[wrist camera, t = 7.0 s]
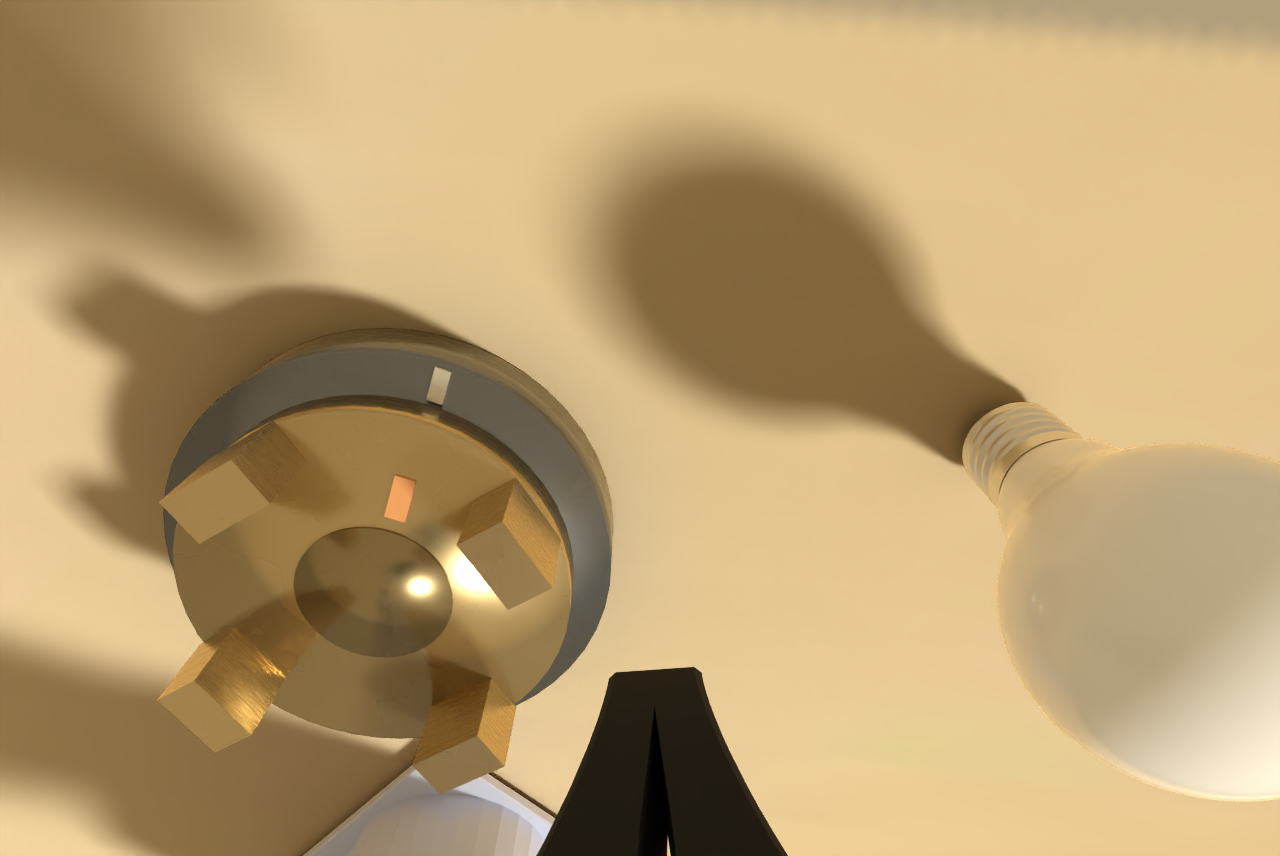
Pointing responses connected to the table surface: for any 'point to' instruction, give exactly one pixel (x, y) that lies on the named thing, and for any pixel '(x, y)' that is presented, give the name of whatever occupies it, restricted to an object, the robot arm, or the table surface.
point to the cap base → (456, 386)
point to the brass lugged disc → (369, 581)
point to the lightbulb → (1141, 598)
